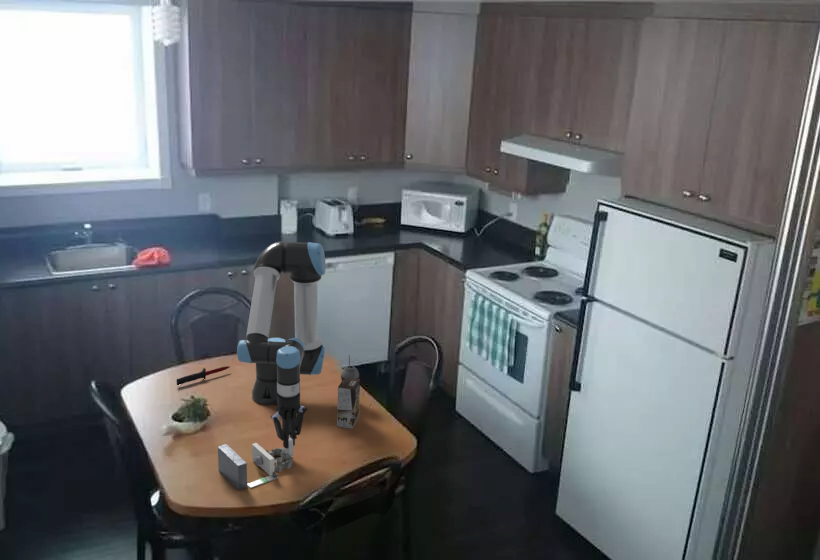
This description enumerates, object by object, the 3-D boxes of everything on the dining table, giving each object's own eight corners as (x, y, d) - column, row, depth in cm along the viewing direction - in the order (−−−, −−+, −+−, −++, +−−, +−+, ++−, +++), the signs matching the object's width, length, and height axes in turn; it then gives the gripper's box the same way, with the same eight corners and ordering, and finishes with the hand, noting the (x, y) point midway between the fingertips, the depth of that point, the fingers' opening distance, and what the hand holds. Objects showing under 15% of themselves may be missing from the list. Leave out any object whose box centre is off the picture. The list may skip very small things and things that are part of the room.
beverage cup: (344, 408, 304) (345, 361, 297) (337, 400, 310) (338, 354, 303) (361, 405, 307) (363, 358, 301) (354, 397, 313) (355, 351, 307)
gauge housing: (218, 470, 260) (217, 446, 257) (255, 457, 268) (254, 434, 266) (240, 492, 249) (240, 467, 246) (278, 478, 257) (277, 454, 254)
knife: (178, 388, 314) (177, 376, 312) (176, 386, 315) (175, 375, 313) (231, 372, 329) (231, 361, 328) (229, 371, 330) (229, 360, 329)
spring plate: (248, 461, 266) (247, 445, 264) (256, 458, 268) (256, 442, 266) (269, 480, 255) (269, 464, 253) (278, 477, 257) (277, 461, 255)
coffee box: (353, 429, 289) (354, 389, 284) (336, 426, 291) (337, 387, 285) (359, 417, 298) (360, 378, 293) (343, 415, 299) (344, 376, 294)
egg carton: (261, 459, 268) (260, 449, 267) (281, 453, 272) (281, 443, 271) (274, 474, 260) (274, 463, 259) (295, 468, 264) (295, 457, 263)
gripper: (277, 402, 254) (278, 465, 262) (311, 391, 262) (311, 453, 270) (265, 393, 260) (266, 456, 267) (299, 383, 267) (299, 444, 275)
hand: (289, 454), depth 268 cm, fingers closed
